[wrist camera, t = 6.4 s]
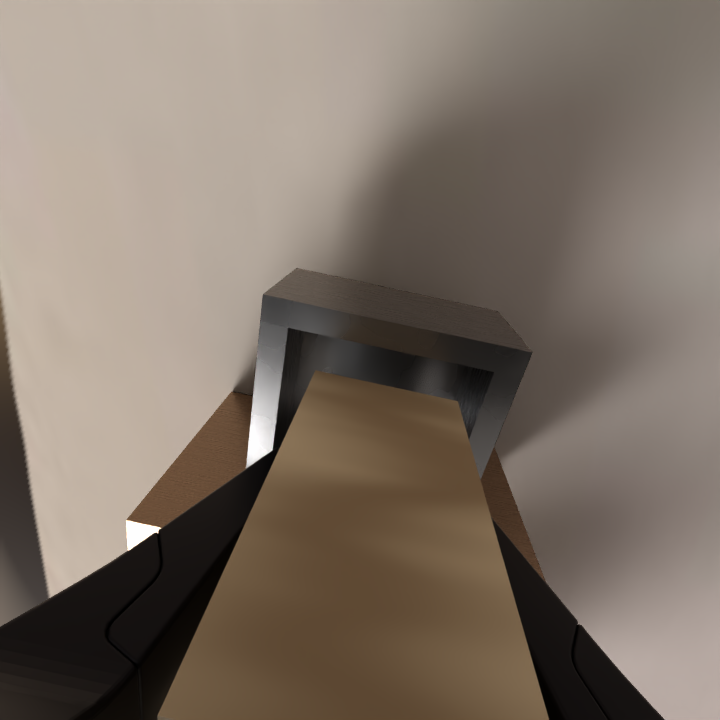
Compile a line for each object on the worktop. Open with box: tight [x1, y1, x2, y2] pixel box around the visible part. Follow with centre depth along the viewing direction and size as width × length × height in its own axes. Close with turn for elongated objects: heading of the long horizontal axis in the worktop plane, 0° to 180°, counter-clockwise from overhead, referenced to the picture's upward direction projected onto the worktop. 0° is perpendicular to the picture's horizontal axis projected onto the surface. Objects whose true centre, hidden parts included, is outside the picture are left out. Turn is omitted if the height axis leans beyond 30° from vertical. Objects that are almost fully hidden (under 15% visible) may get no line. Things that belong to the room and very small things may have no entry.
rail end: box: [157, 370, 549, 720], centre depth 7 cm, size 4×4×7 cm
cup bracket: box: [126, 268, 545, 581], centre depth 14 cm, size 12×13×8 cm
